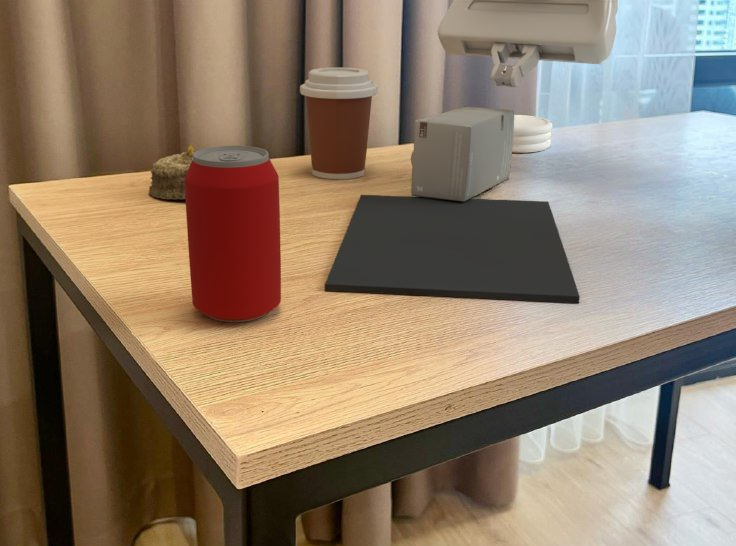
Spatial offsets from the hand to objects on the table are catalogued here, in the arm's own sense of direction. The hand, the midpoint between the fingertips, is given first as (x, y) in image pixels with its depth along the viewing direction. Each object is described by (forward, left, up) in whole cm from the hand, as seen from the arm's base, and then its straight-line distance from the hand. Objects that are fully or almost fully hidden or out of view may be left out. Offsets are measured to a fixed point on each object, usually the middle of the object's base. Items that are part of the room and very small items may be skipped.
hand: (503, 83), depth 101 cm
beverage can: (+21, +43, -11) cm, 49 cm away
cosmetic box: (+2, -3, -7) cm, 8 cm away
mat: (+5, +24, -11) cm, 27 cm away
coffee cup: (+19, -2, -11) cm, 22 cm away
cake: (+34, +9, -11) cm, 37 cm away
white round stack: (-3, -21, -11) cm, 24 cm away
